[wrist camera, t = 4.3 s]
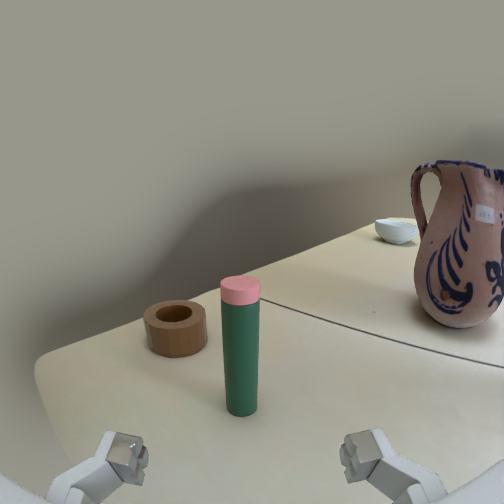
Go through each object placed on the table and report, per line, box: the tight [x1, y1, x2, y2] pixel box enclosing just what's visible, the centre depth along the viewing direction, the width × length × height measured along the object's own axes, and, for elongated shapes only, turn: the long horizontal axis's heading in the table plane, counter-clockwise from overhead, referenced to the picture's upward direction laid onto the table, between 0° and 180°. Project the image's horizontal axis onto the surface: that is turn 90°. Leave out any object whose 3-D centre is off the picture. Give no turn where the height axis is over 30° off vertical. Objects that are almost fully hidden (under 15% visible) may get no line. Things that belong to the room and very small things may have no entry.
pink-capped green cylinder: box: [220, 276, 260, 416], centre depth 21 cm, size 3×3×13 cm
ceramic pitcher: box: [411, 160, 504, 328], centre depth 35 cm, size 18×21×25 cm
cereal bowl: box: [375, 220, 418, 244], centre depth 91 cm, size 17×17×7 cm
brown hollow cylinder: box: [143, 300, 207, 357], centre depth 33 cm, size 8×8×4 cm
